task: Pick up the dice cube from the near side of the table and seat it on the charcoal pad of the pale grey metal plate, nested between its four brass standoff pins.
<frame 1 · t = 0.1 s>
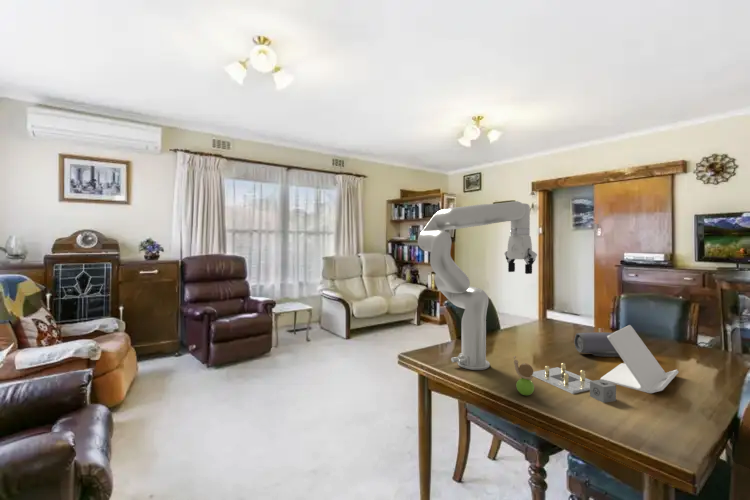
hand: (519, 272, 154), 37 cm above the table, tool pointing down, fingers open, 9 cm apart
dice cube: (602, 399, 115), on the table
bluetooth speaker: (605, 355, 157), on the table
chassis plate: (564, 380, 129), on the table
snail figurine: (523, 394, 118), on the table
tablet stand: (639, 379, 131), on the table
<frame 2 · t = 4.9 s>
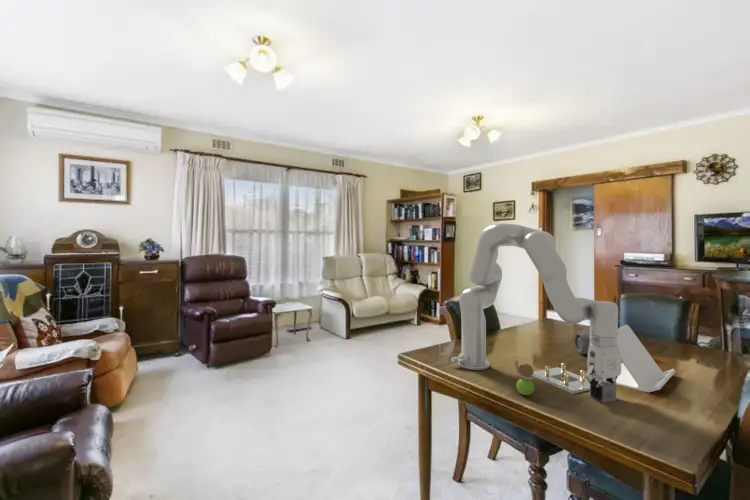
hand: (602, 395, 115), 1 cm above the table, tool pointing down, fingers closed on dice cube, 5 cm apart
dice cube: (602, 398, 115), on the table, touching gripper
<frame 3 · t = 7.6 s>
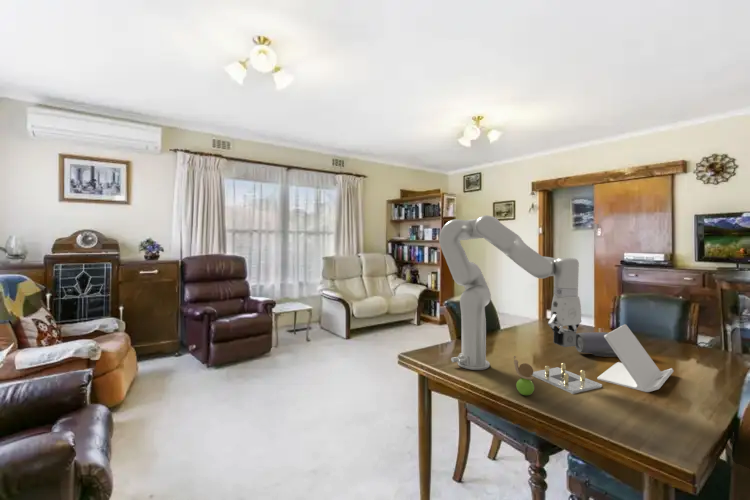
hand: (564, 342, 129), 14 cm above the table, tool pointing down, fingers closed on dice cube, 5 cm apart
dice cube: (564, 345, 129), point 13 cm above the table, touching gripper
when the fingers open (3 cm above the table, at t = 10.6 s): dice cube drops 1 cm, resting on chassis plate.
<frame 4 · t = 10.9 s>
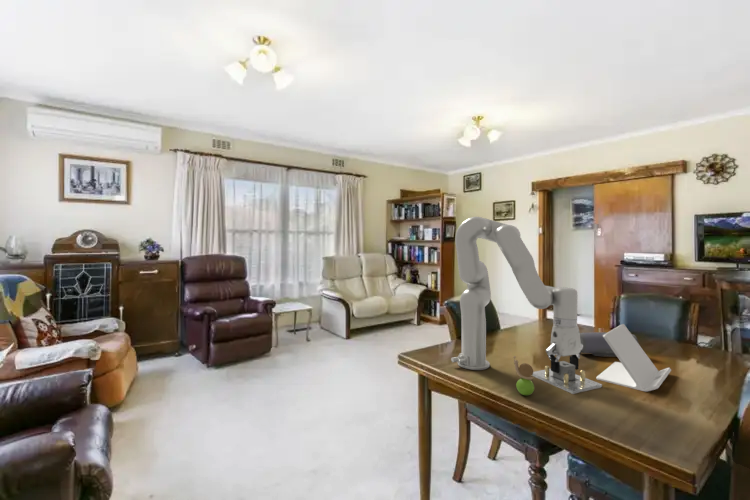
hand: (564, 369, 129), 4 cm above the table, tool pointing down, fingers open, 8 cm apart
dice cube: (564, 378, 129), point 1 cm above the table, touching chassis plate
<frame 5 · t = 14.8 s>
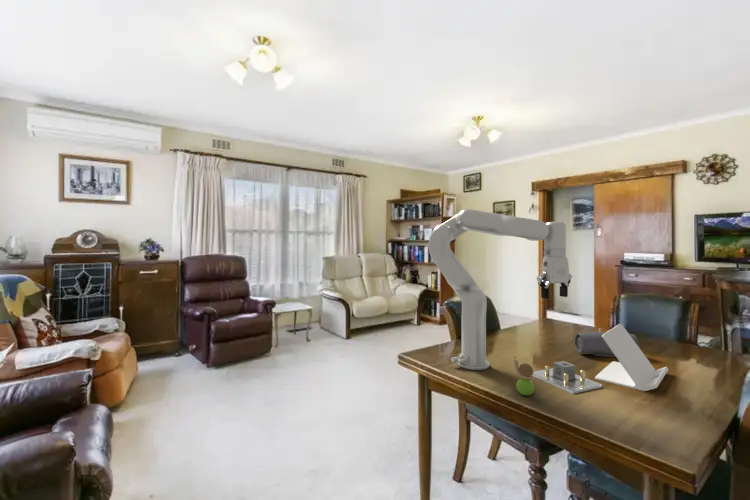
hand: (554, 297, 140), 28 cm above the table, tool pointing down, fingers open, 9 cm apart
at the end: dice cube 0.1 cm off-centre on the chassis plate, point 0.9 cm above the chassis plate's base; dice cube tilted 0°; the gripper is holding nothing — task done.
